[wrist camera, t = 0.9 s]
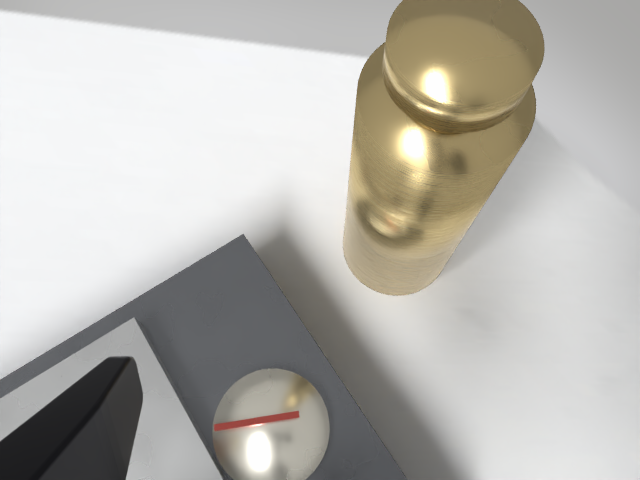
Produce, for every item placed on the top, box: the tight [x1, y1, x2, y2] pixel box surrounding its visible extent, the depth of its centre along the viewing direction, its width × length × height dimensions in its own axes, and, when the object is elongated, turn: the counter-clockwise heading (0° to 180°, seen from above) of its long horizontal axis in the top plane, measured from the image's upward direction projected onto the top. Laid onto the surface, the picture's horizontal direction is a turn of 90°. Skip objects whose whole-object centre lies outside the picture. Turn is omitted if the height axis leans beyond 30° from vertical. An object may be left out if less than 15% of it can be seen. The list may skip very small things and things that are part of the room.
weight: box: [343, 0, 544, 295], centre depth 19 cm, size 5×5×14 cm
